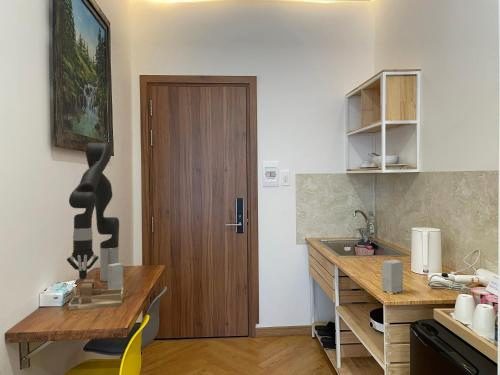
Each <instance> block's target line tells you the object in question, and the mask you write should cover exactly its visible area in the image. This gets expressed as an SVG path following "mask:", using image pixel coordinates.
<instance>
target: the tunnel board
mask: <svg viewBox="0 0 500 375" xmlns="http://www.w3.org/2000/svg"><path fill="white" fill-rule="evenodd" d="M80 286H81V287H80V289H81V297H80V295H73V296H72V297H71V299H70V300H69V303H68V304H67V305H66V311H71V310H72V311H73V309H74V310H83V309H84V310H86V309H96V308H97V309H98V308H108V307H109V308H110V307H117V306H119V307H120V306H122V305H123V300H124V286H123V287H122V288H121V289H108V288H107V289H101V295H96V296H92V287H95V279H93V278H91V279H83V281H82V283H81V285H80Z"/></svg>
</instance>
